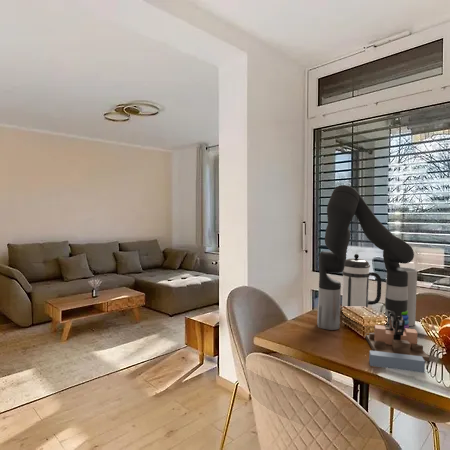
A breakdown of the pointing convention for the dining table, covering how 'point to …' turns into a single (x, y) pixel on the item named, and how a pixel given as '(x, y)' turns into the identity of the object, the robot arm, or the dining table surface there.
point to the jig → (397, 347)
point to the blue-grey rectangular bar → (397, 361)
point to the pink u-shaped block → (388, 335)
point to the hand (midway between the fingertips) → (394, 342)
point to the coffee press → (358, 283)
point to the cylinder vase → (410, 295)
